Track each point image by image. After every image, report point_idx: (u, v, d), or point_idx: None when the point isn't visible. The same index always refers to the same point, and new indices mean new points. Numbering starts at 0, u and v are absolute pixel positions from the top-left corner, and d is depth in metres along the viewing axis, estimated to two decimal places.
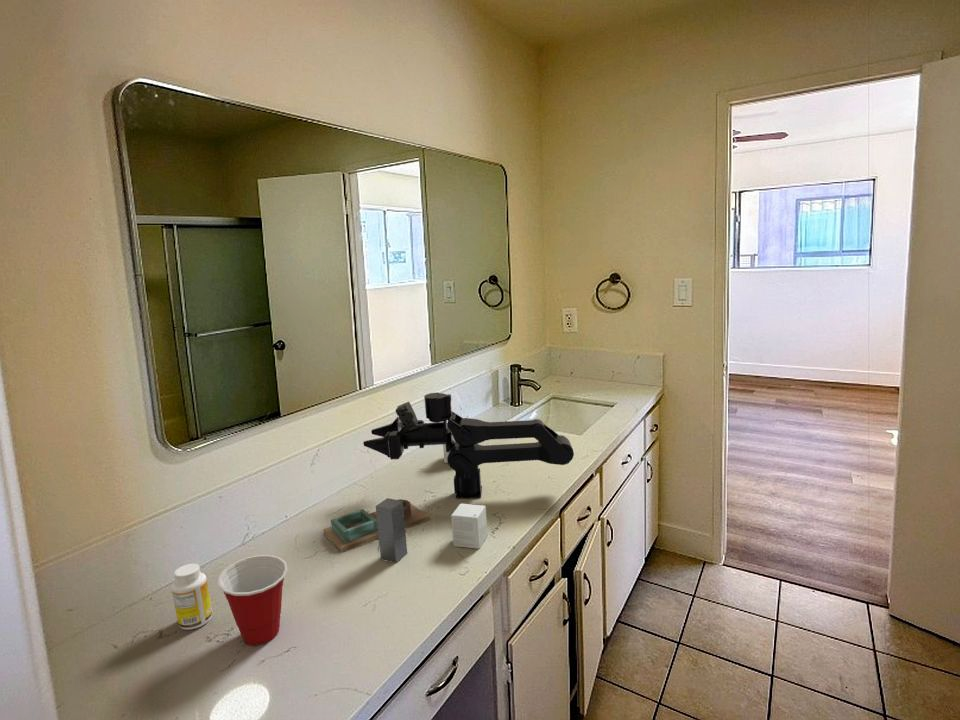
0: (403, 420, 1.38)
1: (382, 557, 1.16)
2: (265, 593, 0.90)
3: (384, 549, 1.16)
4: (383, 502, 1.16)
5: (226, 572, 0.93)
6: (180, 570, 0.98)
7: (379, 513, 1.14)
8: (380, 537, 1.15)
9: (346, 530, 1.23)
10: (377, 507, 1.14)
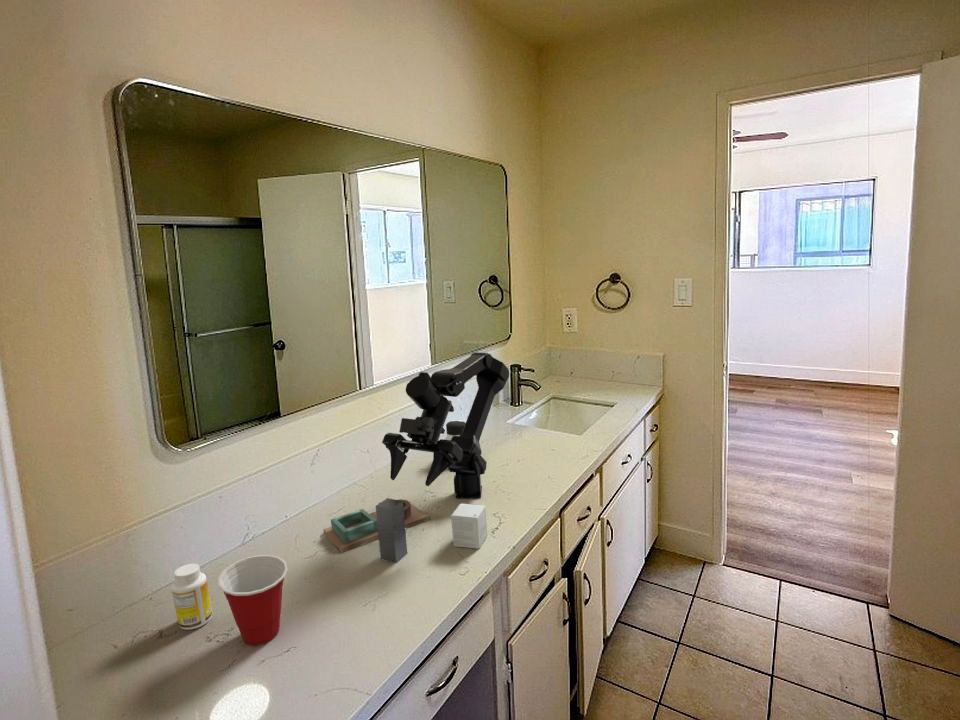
0: (430, 430, 1.21)
1: (382, 557, 1.16)
2: (265, 593, 0.90)
3: (384, 549, 1.16)
4: (383, 502, 1.16)
5: (226, 572, 0.93)
6: (180, 570, 0.98)
7: (379, 513, 1.14)
8: (380, 537, 1.15)
9: (346, 530, 1.23)
10: (377, 507, 1.14)
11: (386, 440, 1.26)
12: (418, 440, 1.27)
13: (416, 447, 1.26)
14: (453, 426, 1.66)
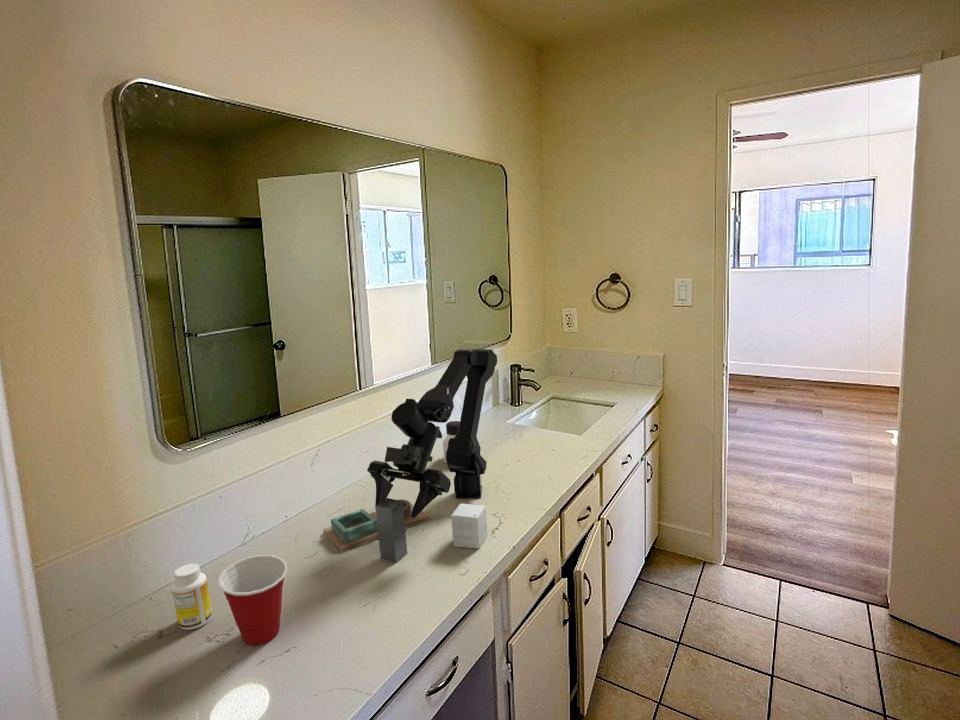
0: (417, 459, 1.16)
1: (382, 557, 1.16)
2: (265, 593, 0.90)
3: (384, 549, 1.16)
4: (383, 502, 1.16)
5: (226, 572, 0.93)
6: (180, 570, 0.98)
7: (379, 513, 1.14)
8: (380, 537, 1.15)
9: (346, 530, 1.23)
10: (377, 507, 1.14)
11: (371, 469, 1.22)
12: (404, 469, 1.22)
13: (402, 476, 1.21)
14: (453, 426, 1.66)
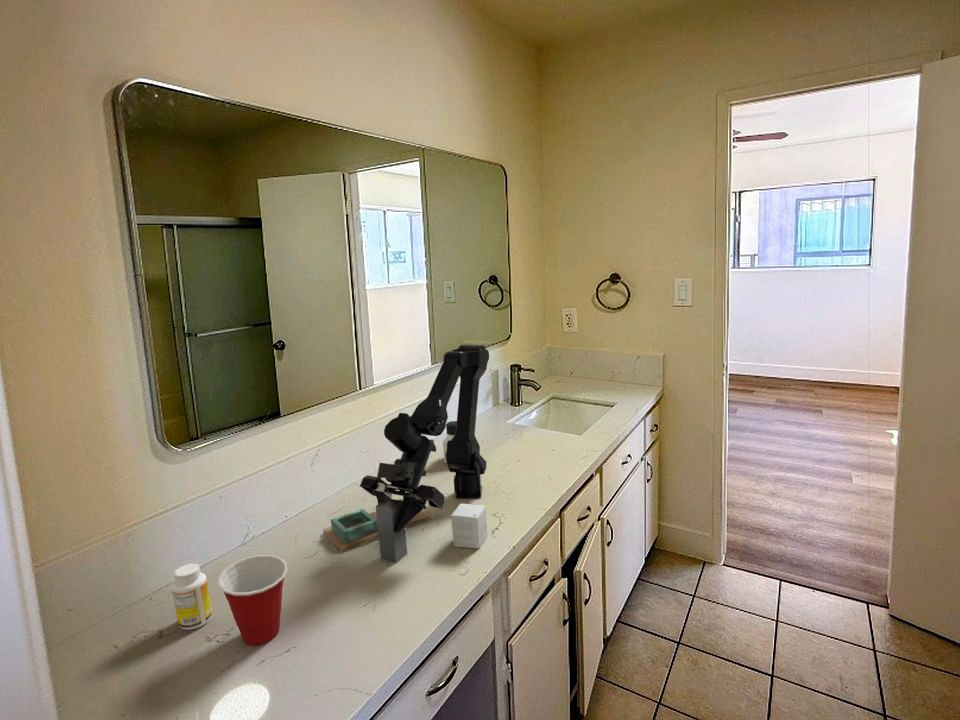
0: (410, 475, 1.14)
1: (382, 557, 1.16)
2: (265, 593, 0.90)
3: (384, 549, 1.16)
4: (383, 502, 1.16)
5: (226, 572, 0.93)
6: (180, 570, 0.98)
7: (379, 513, 1.14)
8: (380, 537, 1.15)
9: (346, 530, 1.23)
10: (377, 507, 1.14)
11: (364, 484, 1.20)
12: (398, 484, 1.20)
13: (395, 492, 1.19)
14: (453, 426, 1.66)
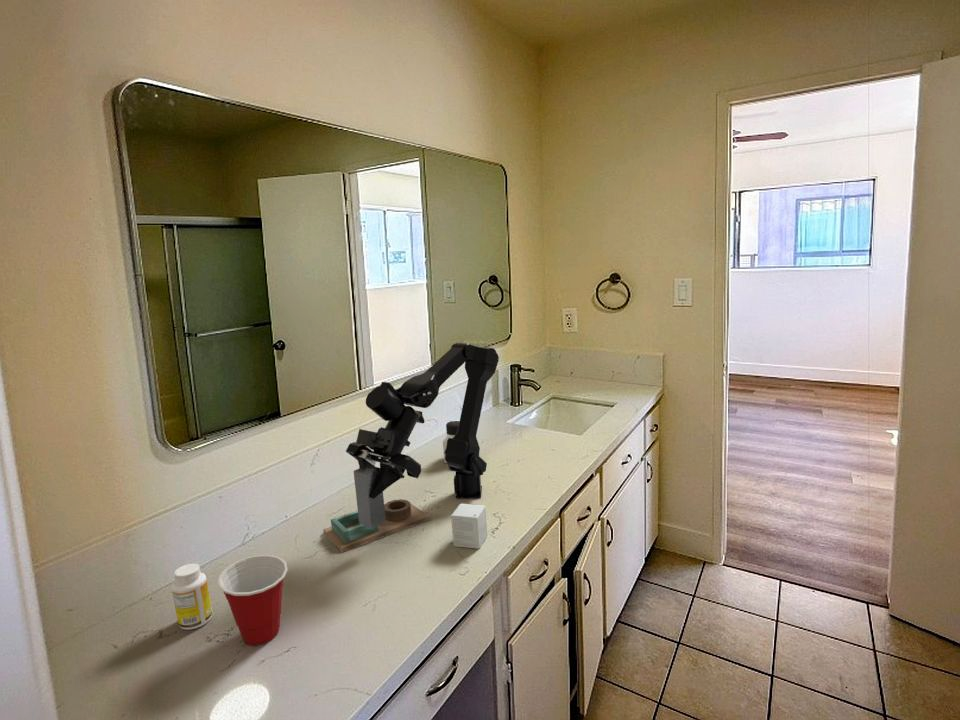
0: (386, 443, 1.16)
1: (360, 521, 1.19)
2: (265, 593, 0.90)
3: (361, 514, 1.18)
4: (362, 468, 1.18)
5: (226, 572, 0.93)
6: (180, 570, 0.98)
7: (356, 478, 1.17)
8: (358, 502, 1.18)
9: (346, 530, 1.23)
10: (355, 472, 1.17)
11: (349, 450, 1.23)
12: (380, 452, 1.22)
13: (377, 459, 1.21)
14: (453, 426, 1.66)
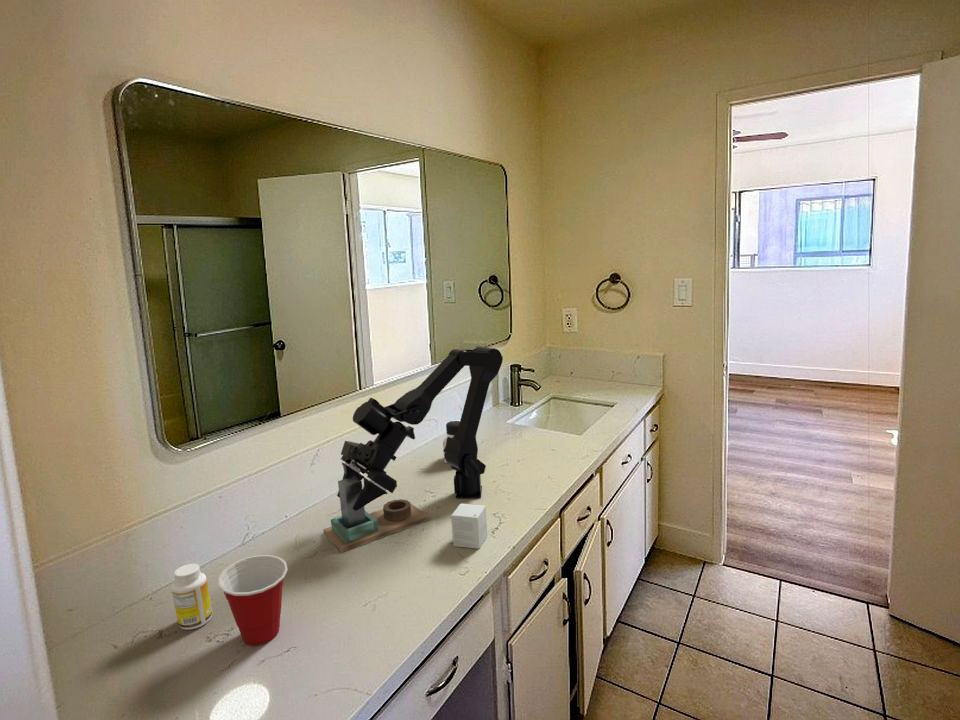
0: (364, 457, 1.22)
1: None
2: (265, 593, 0.90)
3: (344, 521, 1.27)
4: (347, 479, 1.27)
5: (226, 572, 0.93)
6: (180, 570, 0.98)
7: (340, 488, 1.25)
8: (341, 510, 1.27)
9: (346, 530, 1.23)
10: (338, 482, 1.25)
11: (342, 458, 1.32)
12: None
13: (363, 470, 1.28)
14: (453, 426, 1.66)
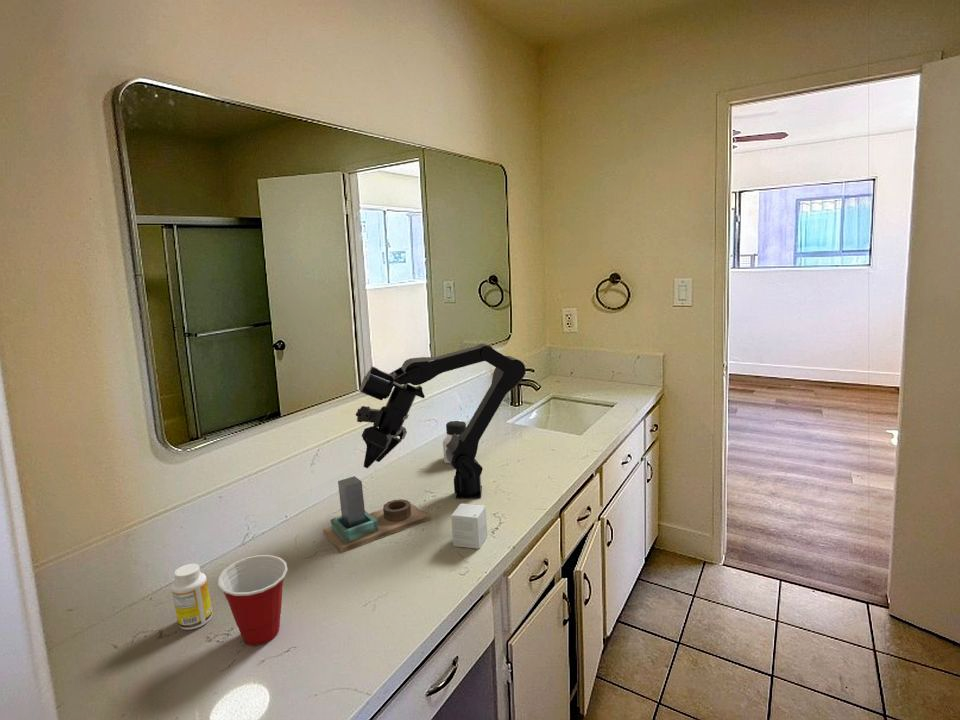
0: (364, 417, 1.33)
1: None
2: (265, 593, 0.90)
3: (344, 521, 1.27)
4: (347, 479, 1.27)
5: (226, 572, 0.93)
6: (180, 570, 0.98)
7: (340, 488, 1.25)
8: (341, 510, 1.27)
9: (346, 530, 1.23)
10: (338, 482, 1.25)
11: None
12: None
13: None
14: (453, 426, 1.66)
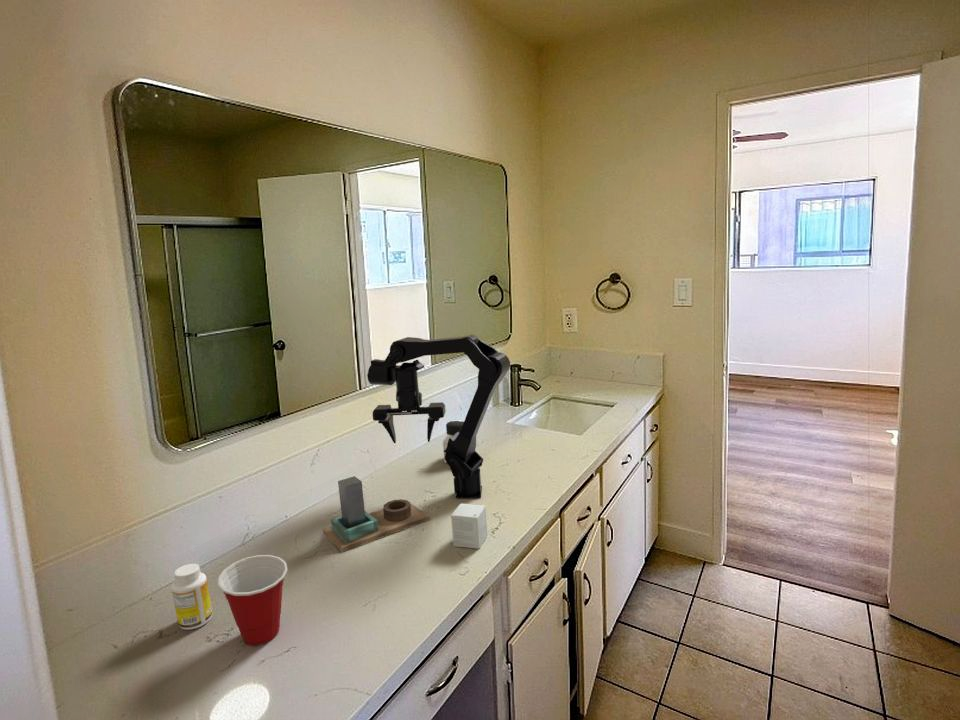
0: None
1: None
2: (265, 593, 0.90)
3: (344, 521, 1.27)
4: (347, 479, 1.27)
5: (226, 572, 0.93)
6: (180, 570, 0.98)
7: (340, 488, 1.25)
8: (341, 510, 1.27)
9: (346, 530, 1.23)
10: (338, 482, 1.25)
11: None
12: None
13: None
14: (453, 426, 1.66)
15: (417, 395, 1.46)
